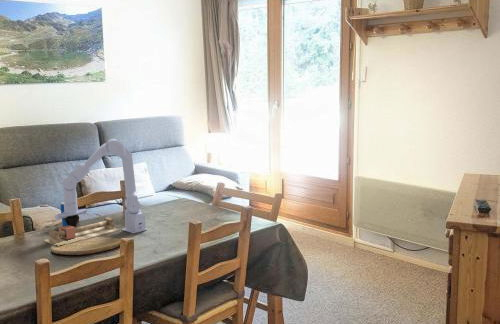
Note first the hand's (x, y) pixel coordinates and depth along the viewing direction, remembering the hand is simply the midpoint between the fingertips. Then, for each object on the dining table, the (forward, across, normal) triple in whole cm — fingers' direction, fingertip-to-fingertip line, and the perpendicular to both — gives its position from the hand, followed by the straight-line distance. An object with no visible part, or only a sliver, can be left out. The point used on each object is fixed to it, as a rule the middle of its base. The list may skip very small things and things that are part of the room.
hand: (72, 231), depth 223 cm
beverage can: (+2, -8, -16) cm, 18 cm away
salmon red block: (+1, +4, +2) cm, 4 cm away
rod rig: (+2, -4, +3) cm, 5 cm away
